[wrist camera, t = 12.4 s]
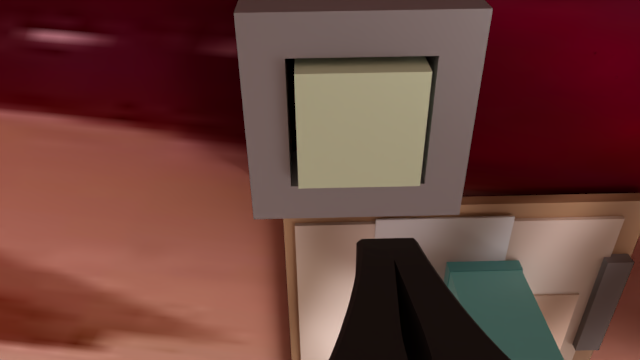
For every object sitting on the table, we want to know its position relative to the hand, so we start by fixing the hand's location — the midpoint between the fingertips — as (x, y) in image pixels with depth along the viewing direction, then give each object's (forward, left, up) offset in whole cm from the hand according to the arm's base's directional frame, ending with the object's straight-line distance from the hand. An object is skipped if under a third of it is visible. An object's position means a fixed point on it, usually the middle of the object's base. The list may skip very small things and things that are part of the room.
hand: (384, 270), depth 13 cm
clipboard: (-5, +11, -10) cm, 16 cm away
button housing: (0, 0, -10) cm, 10 cm away
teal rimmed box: (-6, +10, -9) cm, 14 cm away
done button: (0, 0, -9) cm, 9 cm away
